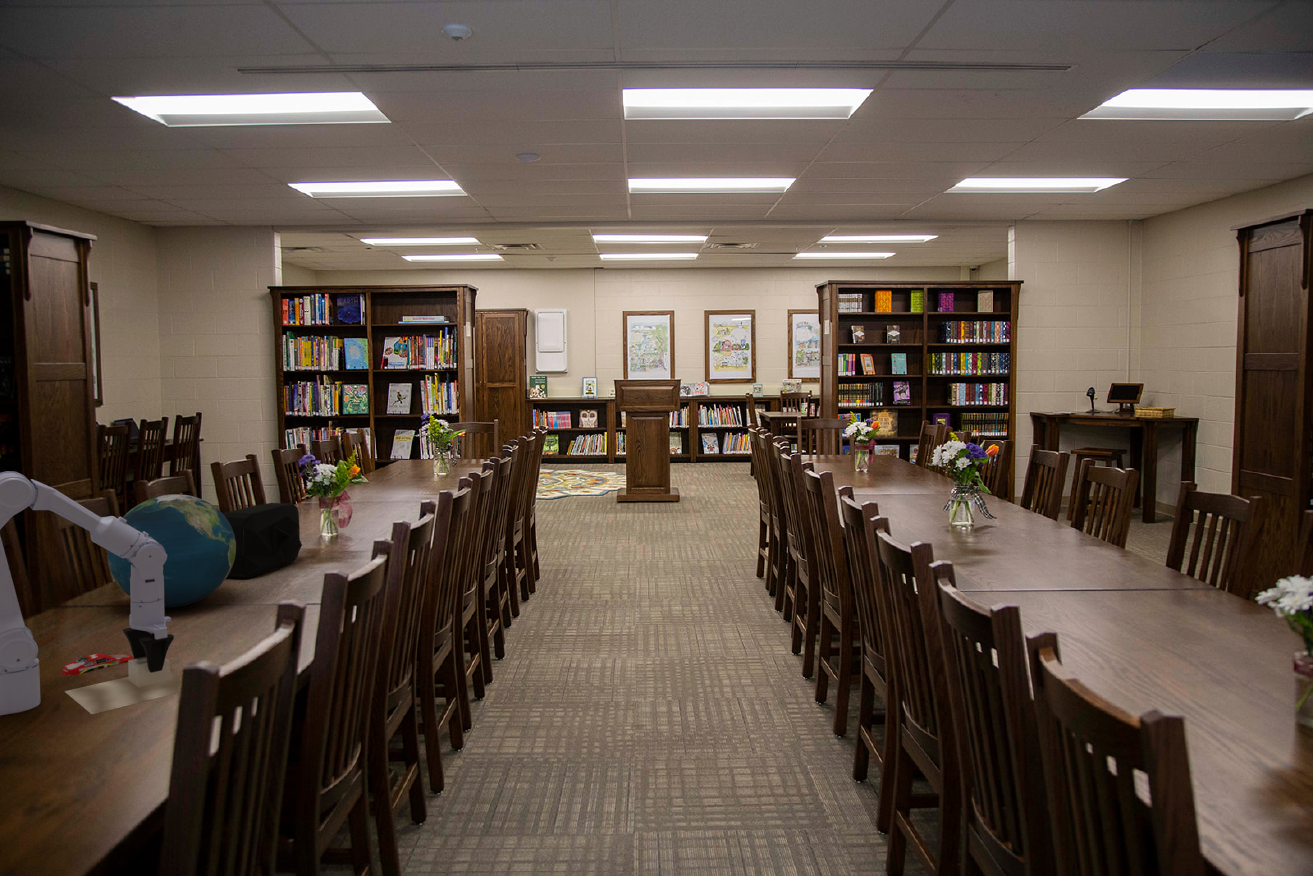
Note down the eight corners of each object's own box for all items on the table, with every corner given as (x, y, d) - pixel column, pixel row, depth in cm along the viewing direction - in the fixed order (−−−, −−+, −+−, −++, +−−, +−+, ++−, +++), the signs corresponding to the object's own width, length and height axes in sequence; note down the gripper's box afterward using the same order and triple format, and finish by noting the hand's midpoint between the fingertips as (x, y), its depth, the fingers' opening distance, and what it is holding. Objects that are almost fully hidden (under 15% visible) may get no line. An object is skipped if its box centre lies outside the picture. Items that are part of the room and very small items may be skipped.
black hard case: (275, 559, 284) (275, 500, 282) (309, 561, 282) (308, 502, 280) (215, 580, 254) (214, 514, 252) (252, 582, 252) (251, 516, 251)
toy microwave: (138, 687, 164) (137, 666, 164) (128, 680, 168) (128, 659, 167) (169, 680, 168) (169, 659, 168) (159, 673, 172) (159, 653, 171)
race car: (128, 662, 183) (127, 644, 183) (139, 668, 180) (139, 649, 179) (57, 679, 172) (57, 660, 172) (68, 685, 169) (68, 666, 169)
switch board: (92, 722, 151) (91, 695, 151) (64, 699, 161) (63, 673, 161) (198, 695, 165) (198, 670, 164) (167, 675, 175) (166, 651, 175)
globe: (181, 626, 208) (179, 505, 206) (80, 616, 214) (76, 499, 212) (260, 596, 237) (259, 490, 235) (169, 588, 243) (167, 485, 241)
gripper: (183, 602, 165) (184, 670, 166) (155, 589, 174) (157, 653, 175) (143, 609, 160) (145, 679, 161) (117, 595, 169) (118, 661, 170)
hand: (148, 666), depth 168 cm, fingers open, 7 cm apart
